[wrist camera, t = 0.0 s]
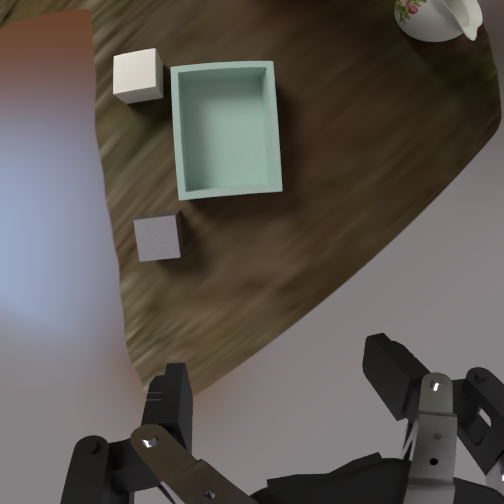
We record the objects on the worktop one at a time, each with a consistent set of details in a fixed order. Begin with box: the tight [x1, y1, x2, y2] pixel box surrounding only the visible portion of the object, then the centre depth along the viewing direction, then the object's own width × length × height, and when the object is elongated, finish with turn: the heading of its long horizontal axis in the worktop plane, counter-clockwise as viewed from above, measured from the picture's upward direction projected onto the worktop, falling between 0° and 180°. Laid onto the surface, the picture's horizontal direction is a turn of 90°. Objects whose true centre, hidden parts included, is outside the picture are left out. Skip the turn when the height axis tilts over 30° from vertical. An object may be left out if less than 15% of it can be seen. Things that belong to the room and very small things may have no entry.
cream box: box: [113, 48, 164, 104], centre depth 31 cm, size 5×5×6 cm
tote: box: [171, 61, 282, 200], centre depth 34 cm, size 16×12×6 cm
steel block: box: [134, 210, 184, 261], centre depth 37 cm, size 5×5×5 cm
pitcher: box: [394, 0, 483, 42], centre depth 28 cm, size 11×18×14 cm, turn 178°
